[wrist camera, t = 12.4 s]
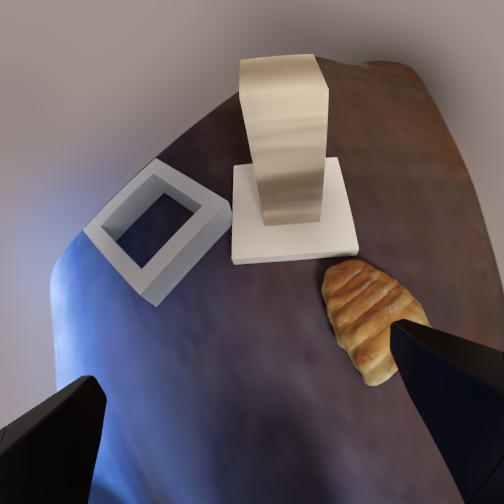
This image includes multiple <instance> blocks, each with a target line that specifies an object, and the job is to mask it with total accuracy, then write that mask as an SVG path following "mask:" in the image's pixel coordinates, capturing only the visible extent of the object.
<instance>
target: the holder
mask: <svg viewBox="0 0 504 504" xmlns="http://www.w3.org/2000/svg"><path fill="white" fill-rule="evenodd" d="M163 193H166V194H167V195H169V196H170V197H171V198H173V199H174V200H176V201H177V202H179V203H180V204H182V205H183V206H184V207H186V208H187V209H189V210H190V211H192V212H193V213H195V214H194V215H193V216H192V217H191V218H190V219H189V220H188V221H187V222H186V223H185V224H184V225H183V226H182V227H181V228H180V229H179V230H178V231H177V232H176V233H175V234H174V235H173V236H172V237H171V239H170V240H169V241H168V242H167V243H166V244H165V245H164V246H163V247H162V248H161V249H160V250H159V251H158V252H157V253H156V254H155V255H154V257H153V258H152V259H151V260H150V261H149V262H148V263H147V264H146V265H145V266H144V267H143V269H142V268H141V267H140V266H139V265H138V264H137V263H136V262H135V261H134V260H133V259H132V258H131V257H130V256H129V255H128V254H127V253H126V252H125V251H124V250H123V249H122V248H121V247H120V246H119V245H118V244H117V243H116V241H117V240H118V239H119V238H120V237H121V236H122V235H123V234H124V233H125V232H126V231H127V230H128V228H129V227H130V226H131V225H132V224H133V223H134V222H135V221H136V220H137V219H138V218H139V217H140V216H141V215H142V214H143V213H144V212H145V211H146V210H147V209H148V208H149V207H150V206H151V205H152V204H153V203H154V202H155V201H156V200H157V199H158V198H159V197H160V196H161V195H162V194H163ZM232 216H233V214H232V211H231V208H230V205H229V202H228V201H227V200H225V199H223V198H222V197H220V196H219V195H217V194H215V193H214V192H212V191H210V190H209V189H207V188H205V187H204V186H202V185H200V184H199V183H197V182H195V181H194V180H192V179H190V178H189V177H187V176H185V175H184V174H182V173H180V172H179V171H177V170H175V169H174V168H172V167H170V166H168V165H167V164H165V163H163V162H162V161H160V160H158V159H157V158H156V159H154V160H153V161H152V162H151V163H150V164H149V165H148V166H147V167H145V168H144V169H143V170H142V171H141V172H140V173H139V174H138V175H137V176H136V177H135V178H134V179H133V180H131V181H130V182H129V183H128V184H127V185H126V186H125V187H124V188H123V189H122V190H121V191H120V192H119V193H118V194H117V195H116V196H115V197H114V198H113V199H112V200H111V201H110V202H109V203H108V204H107V205H106V206H105V207H104V208H103V209H102V210H101V211H100V212H99V213H98V214H97V215H96V216H95V218H94V219H93V220H92V221H91V222H90V223H89V224H88V225H87V226H86V227H85V228H84V229H83V231H84V232H85V233H86V235H87V236H88V237H89V238H90V240H91V241H92V242H93V243H94V244H95V246H96V247H97V248H98V249H99V250H100V251H101V253H102V254H103V255H104V256H105V257H106V258H107V260H108V261H109V262H110V263H111V264H112V265H113V266H114V268H115V269H116V270H117V271H118V272H119V273H120V274H121V275H122V276H123V278H124V279H125V280H126V281H127V282H128V283H129V284H130V285H131V286H132V287H133V288H134V289H135V291H136V292H137V293H138V294H139V295H140V296H142V297H143V298H144V299H146V300H147V301H148V302H150V303H151V304H152V305H154V306H155V307H157V306H158V305H159V304H160V303H161V302H162V301H163V300H164V298H165V297H166V296H167V295H168V294H169V293H170V292H171V291H172V290H173V288H174V287H175V286H176V285H177V284H178V283H179V282H180V281H181V280H182V279H183V277H184V276H185V275H186V274H187V273H188V272H189V271H190V270H191V269H192V268H193V266H194V265H195V264H196V263H197V262H198V261H199V260H200V259H201V258H202V257H203V256H204V255H205V253H206V252H207V251H208V250H209V249H210V248H211V247H212V246H213V245H214V244H215V243H216V242H217V241H218V239H219V238H220V237H221V236H222V235H223V234H224V233H225V232H226V231H227V230H228V229H229V228H230V227H231V226H232Z"/></svg>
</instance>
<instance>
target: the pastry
mask: <svg viewBox="0 0 504 504" xmlns="http://www.w3.org/2000/svg"><path fill="white" fill-rule="evenodd" d="M321 292H322V295H323V297H324V300H325V304H326V306H327V315H328V317H329V320H330V322H331V324H332V326H333V329H334V333H335V336H336V341H337V343H338V344H339V346H340V347H342V348H343V349H345V350H346V352H347V353H348V355H349V357H350V359H351V360H352V362H353V364H354V365H355V367H356V368H357V369H358V370H359V372H360V373H361V374H362V377H363V380H364V382H365V383H366V384H368V385H369V386H377V385H379V384H381V383H383V382H384V381H386V380H387V379H389V378H390V377H391V376H392V375H393V374H394V373H395V372H396V371H397V370H398V368H397V366H396V363H395V361H394V359H393V356H392V354H391V351H390V325H391V323H392V322H394V321H397V320H400V319H407V320H410V321H413V322H416V323H419V324H422V325H425V326H428V327H431V326H430V324H429V323H428V320H427V318H426V315H425V313H424V310H423V308H422V306H421V304H420V303H419V302H418V301H417V300H416V299H415V298H414V297H412V296H411V294H410V293H409V291H408V290H407V289H406V288H405V287H404V286H402V285H401V284H400V283H399V282H398V281H397V280H396V279H393V278H391V277H390V276H389V275H387V274H386V273H385V272H381V271H379V270H377V269H376V268H374V267H373V266H372V265H369V264H368V263H366V262H364V261H361V260H347V261H344V262H342V263H340V264H338V265H336V266H332V267H330V268H329V269H327V271H326V273H325V276H324V280H323V284H322V288H321ZM431 328H432V327H431Z"/></svg>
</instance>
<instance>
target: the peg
mask: <svg viewBox="0 0 504 504" xmlns="http://www.w3.org/2000/svg"><path fill="white" fill-rule="evenodd" d="M328 93H329V89H328V87H327V84H326V82H325V80H324V77H323V75H322V73H321V70H320V68H319V66H318V64H317V62H316V59H315V57H314V55H313V54H302V55H286V56H285V55H284V56H273V57H262V58H253V59H245V60H240V86H239V98H240V102H241V107H242V112H243V117H244V122H245V127H246V132H247V136H248V141H249V146H250V151H251V156H252V161H253V166H254V171H255V177H256V182H257V187H258V192H259V197H260V202H261V208H262V213H263V218H264V223H265V226H277V225H289V224H301V223H314V222H320V217H321V207H322V196H323V184H324V171H325V157H326V140H327V121H328Z"/></svg>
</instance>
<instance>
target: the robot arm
mask: <svg viewBox="0 0 504 504" xmlns="http://www.w3.org/2000/svg"><path fill="white" fill-rule="evenodd" d="M390 351H391V354H392V356H393V359H394V361H395V363H396V366H397V368H398V370H399V373H400V375H401V377H402V380H403V382H404V384H405V387H406V389H407V391H408V394H409V396H410V397H411V399H412V401H413V403H414V405H415V407H416V408H417V410H418V412H419V414H420V416H421V417H422V419H423V421H424V423H425V425H426V427H427V428H428V430H429V432H430V434H431V436H432V438H433V440H434V442H435V443H436V445H437V447H438V449H439V451H440V453H441V455H442V457H443V459H444V461H445V463H446V465H447V467H448V469H449V471H450V473H451V475H452V477H453V479H454V481H455V483H456V486H457V488H458V490H459V492H460V494H461V496H462V498H463V501H464V503H465V504H504V352H502V351H501V350H498V349H495V348H491V347H488V346H485V345H482V344H479V343H476V342H473V341H470V340H467V339H464V338H461V337H458V336H455V335H452V334H449V333H446V332H443V331H440V330H437V329H434V328H431V327H428V326H425V325H422V324H419V323H416V322H413V321H410V320H407V319H400V320H397V321H394V322H392V323H391V325H390ZM106 402H107V398H106V395H105V393H104V391H103V389H102V388H101V386H100V385H99V383H98V381H97V379H96V378H95V377H94V376H92V375H88V376H81V377H80V378H78V379H77V380H75V381H74V382H72V383H71V384H69V385H68V386H66V387H65V388H63V389H62V390H60V391H58V392H57V393H55V394H54V395H52V396H51V397H49V398H48V399H46V400H45V401H43V402H42V403H40V404H39V405H37V406H36V407H34V408H33V409H31V410H30V411H28V412H27V413H25V414H24V415H22V416H21V417H19V418H18V419H16V420H15V421H13V422H11V423H10V424H8V425H7V426H5V427H4V428H2V429H1V430H0V504H88V499H89V493H90V488H91V483H92V478H93V473H94V468H95V463H96V459H97V454H98V450H99V446H100V441H101V435H102V428H103V421H104V415H105V408H106Z"/></svg>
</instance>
